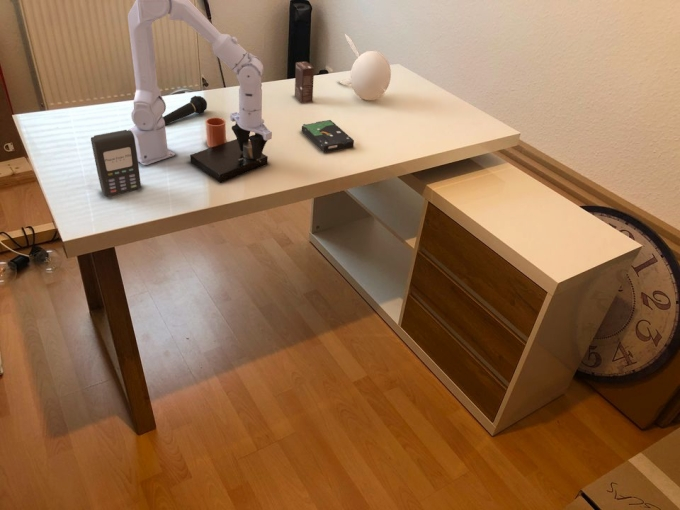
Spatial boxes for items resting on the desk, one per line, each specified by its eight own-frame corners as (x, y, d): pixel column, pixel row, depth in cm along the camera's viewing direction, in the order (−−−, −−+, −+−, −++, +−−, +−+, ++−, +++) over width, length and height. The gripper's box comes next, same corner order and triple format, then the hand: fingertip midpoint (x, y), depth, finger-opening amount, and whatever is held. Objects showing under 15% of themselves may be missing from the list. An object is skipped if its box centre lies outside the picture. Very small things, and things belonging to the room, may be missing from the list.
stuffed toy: (407, 61, 182) (362, 28, 194) (375, 70, 175) (330, 35, 188) (396, 111, 195) (355, 77, 208) (366, 121, 189) (325, 85, 202)
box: (293, 96, 190) (295, 62, 182) (305, 95, 192) (307, 61, 184) (300, 103, 186) (302, 68, 178) (312, 102, 188) (315, 67, 180)
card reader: (105, 199, 131) (93, 142, 122) (99, 191, 134) (88, 135, 125) (143, 190, 136) (135, 134, 127) (137, 182, 138) (128, 127, 129)
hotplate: (223, 184, 142) (222, 175, 140) (190, 163, 149) (189, 154, 147) (271, 165, 152) (272, 156, 150) (239, 145, 159) (239, 137, 157)
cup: (214, 150, 155) (213, 127, 151) (203, 143, 158) (202, 120, 153) (229, 145, 158) (229, 122, 154) (218, 138, 161) (217, 115, 157)
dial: (249, 160, 147) (249, 148, 145) (240, 154, 149) (239, 142, 147) (261, 156, 150) (261, 143, 148) (251, 150, 152) (251, 138, 150)
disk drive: (353, 148, 165) (329, 127, 174) (355, 140, 163) (330, 118, 172) (323, 154, 160) (300, 131, 169) (324, 145, 158) (300, 123, 168)
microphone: (157, 139, 163) (210, 113, 174) (157, 125, 158) (211, 99, 170) (145, 128, 164) (198, 103, 175) (145, 113, 160) (199, 89, 171)
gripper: (281, 113, 140) (279, 160, 148) (244, 93, 147) (245, 140, 155) (259, 119, 136) (259, 168, 144) (223, 99, 143) (224, 147, 151)
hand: (250, 154), depth 149 cm, fingers open, 5 cm apart
